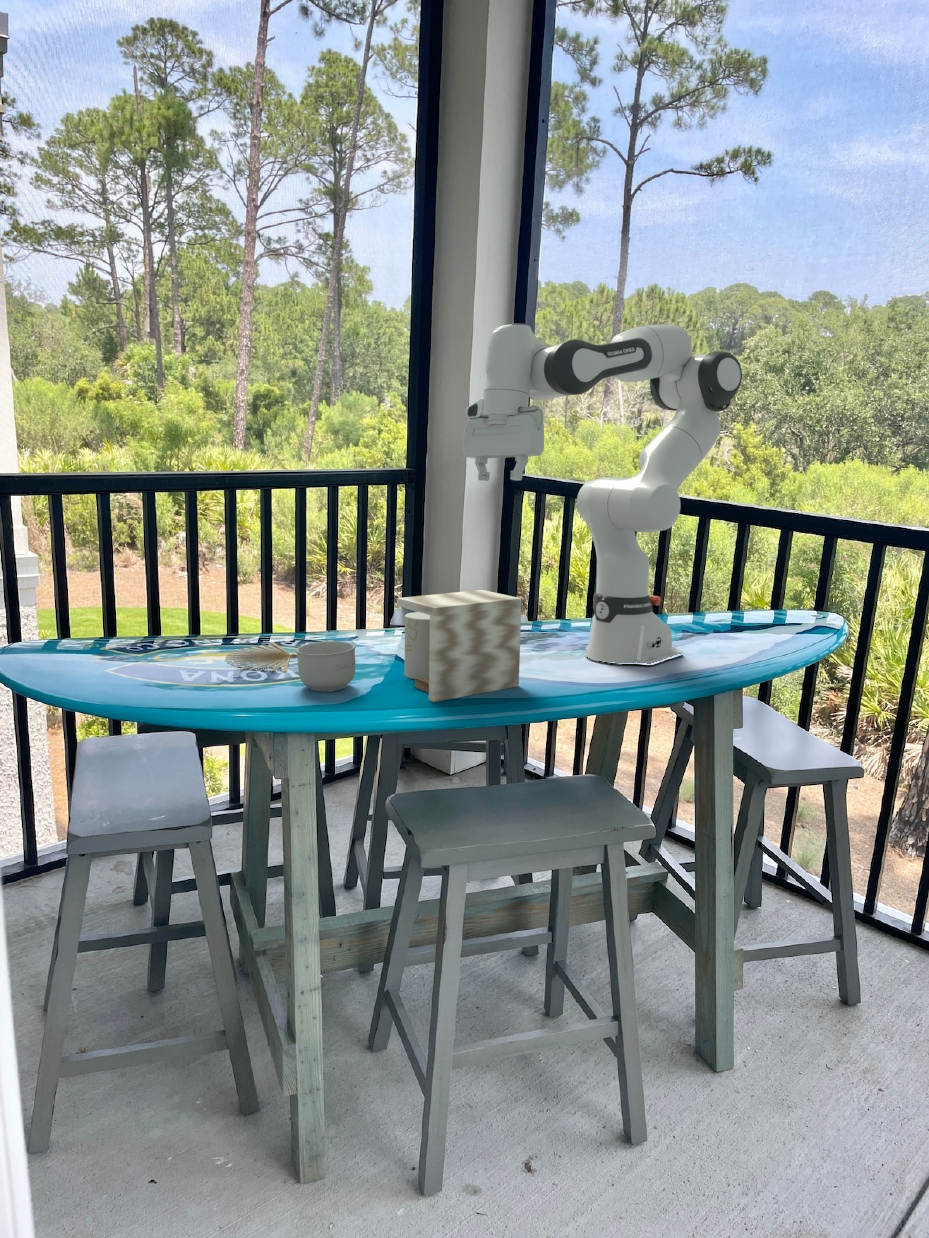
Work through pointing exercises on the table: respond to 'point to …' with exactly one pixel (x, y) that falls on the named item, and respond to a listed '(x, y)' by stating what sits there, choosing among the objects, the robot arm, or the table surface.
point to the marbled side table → (469, 642)
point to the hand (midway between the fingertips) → (499, 480)
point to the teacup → (326, 665)
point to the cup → (417, 645)
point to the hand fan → (262, 657)
